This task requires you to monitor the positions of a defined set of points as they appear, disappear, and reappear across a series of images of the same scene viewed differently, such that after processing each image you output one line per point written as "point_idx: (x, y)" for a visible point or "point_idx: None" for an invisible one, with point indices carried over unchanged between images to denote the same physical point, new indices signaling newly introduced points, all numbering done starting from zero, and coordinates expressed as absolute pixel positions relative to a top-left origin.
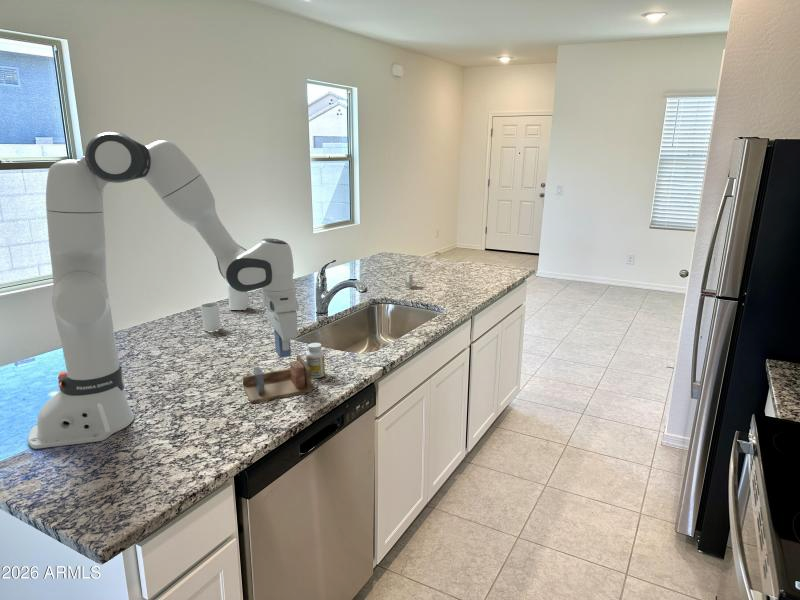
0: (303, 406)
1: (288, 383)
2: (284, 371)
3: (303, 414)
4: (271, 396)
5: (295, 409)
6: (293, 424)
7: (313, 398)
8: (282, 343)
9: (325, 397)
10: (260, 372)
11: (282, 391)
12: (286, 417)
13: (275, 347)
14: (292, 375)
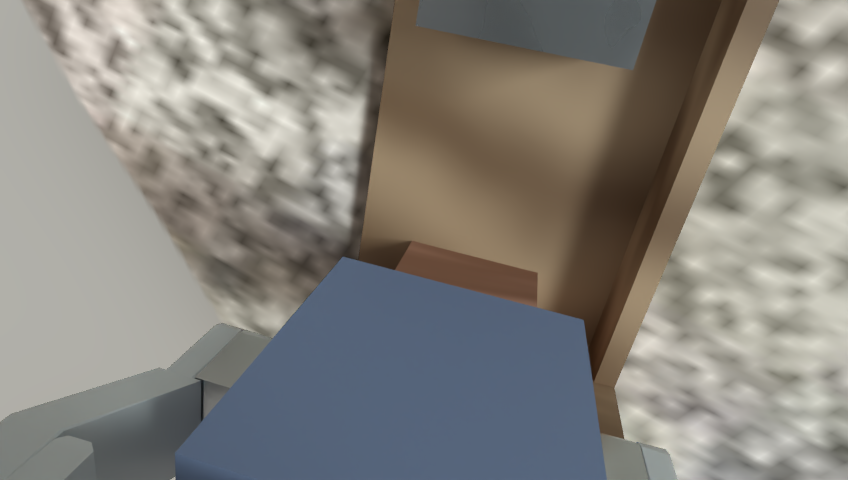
0: (210, 165)
1: (514, 241)
2: (626, 292)
3: (123, 118)
4: (392, 51)
5: (195, 111)
6: (36, 16)
7: (275, 256)
8: (133, 379)
9: (256, 306)
10: (465, 12)
11: (421, 150)
12: (123, 19)
13: (584, 349)
14: (484, 288)
